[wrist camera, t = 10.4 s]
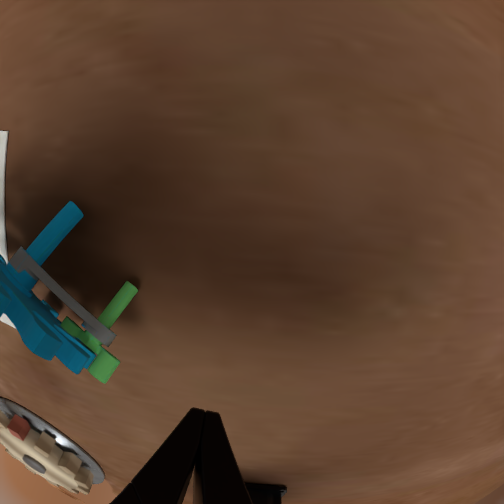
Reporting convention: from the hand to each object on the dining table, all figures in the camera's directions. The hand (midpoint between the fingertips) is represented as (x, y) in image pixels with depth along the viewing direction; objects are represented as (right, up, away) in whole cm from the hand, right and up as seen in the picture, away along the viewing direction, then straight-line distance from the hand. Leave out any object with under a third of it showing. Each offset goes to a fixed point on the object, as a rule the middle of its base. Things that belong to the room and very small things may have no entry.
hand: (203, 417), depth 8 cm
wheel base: (-22, -17, +14) cm, 32 cm away
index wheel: (-24, -16, +13) cm, 32 cm away
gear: (-9, +4, +6) cm, 11 cm away
